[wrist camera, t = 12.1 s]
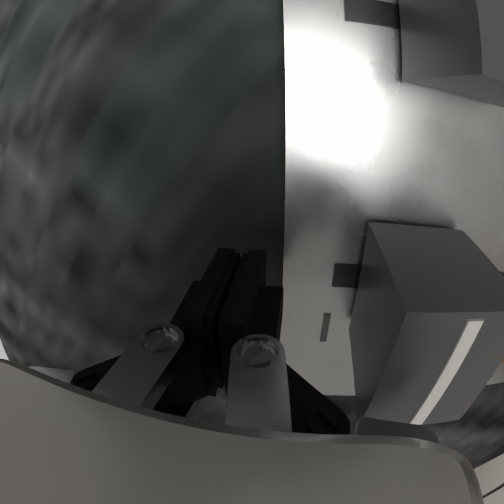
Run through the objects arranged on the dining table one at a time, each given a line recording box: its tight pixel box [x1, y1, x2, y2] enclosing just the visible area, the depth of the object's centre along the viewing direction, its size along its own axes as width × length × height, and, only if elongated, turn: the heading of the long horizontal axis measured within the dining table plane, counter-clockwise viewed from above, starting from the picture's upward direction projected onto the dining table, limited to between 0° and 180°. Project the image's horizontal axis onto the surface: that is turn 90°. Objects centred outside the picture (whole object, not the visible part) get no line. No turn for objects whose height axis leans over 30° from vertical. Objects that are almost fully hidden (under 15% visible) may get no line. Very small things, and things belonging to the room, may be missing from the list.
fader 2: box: [349, 222, 504, 425], centre depth 9 cm, size 5×4×5 cm
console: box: [280, 0, 504, 395], centre depth 10 cm, size 22×20×2 cm
